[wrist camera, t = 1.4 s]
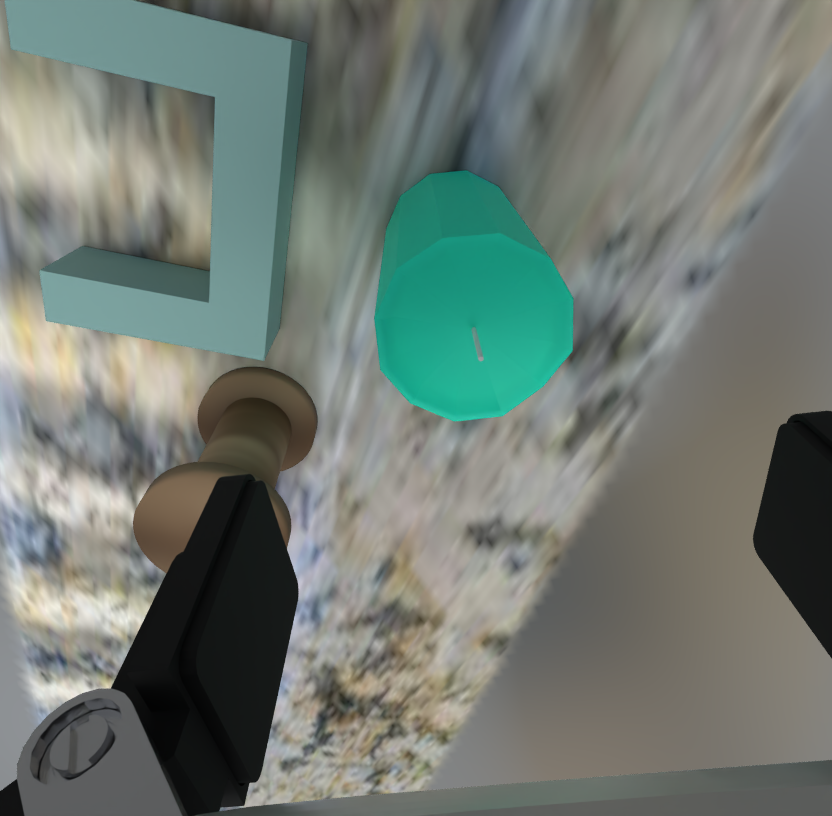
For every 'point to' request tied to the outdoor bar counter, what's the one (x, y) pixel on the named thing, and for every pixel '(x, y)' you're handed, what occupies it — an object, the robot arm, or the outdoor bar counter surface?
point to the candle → (468, 301)
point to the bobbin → (229, 456)
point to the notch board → (232, 172)
